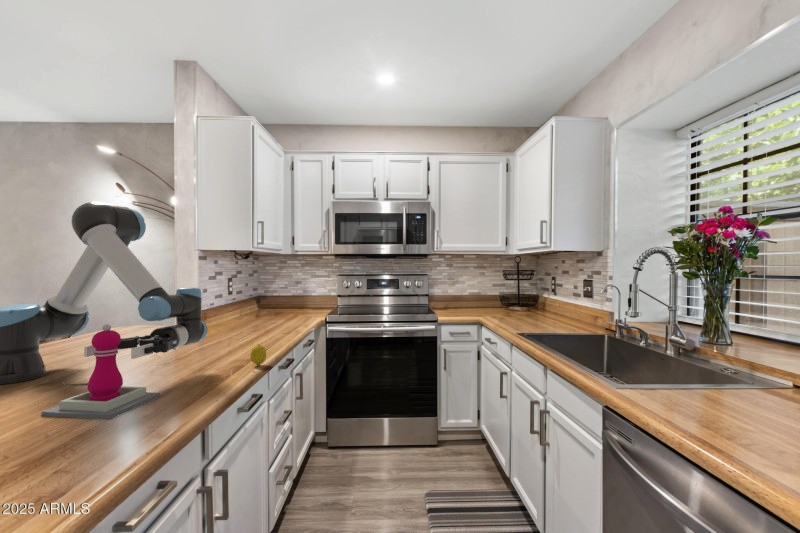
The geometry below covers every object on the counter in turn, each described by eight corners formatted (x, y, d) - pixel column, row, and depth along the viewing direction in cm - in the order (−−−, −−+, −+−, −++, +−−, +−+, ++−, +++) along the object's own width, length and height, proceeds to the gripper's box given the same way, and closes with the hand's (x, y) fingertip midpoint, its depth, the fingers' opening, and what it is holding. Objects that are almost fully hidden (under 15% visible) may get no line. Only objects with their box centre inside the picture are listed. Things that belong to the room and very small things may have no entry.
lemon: (262, 367, 134) (263, 345, 134) (247, 367, 134) (248, 345, 134) (268, 364, 139) (268, 342, 139) (254, 363, 139) (254, 342, 139)
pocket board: (41, 415, 89) (41, 403, 89) (101, 393, 104) (101, 383, 104) (109, 419, 87) (110, 406, 87) (160, 396, 103) (160, 385, 103)
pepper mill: (129, 397, 99) (131, 322, 99) (105, 407, 92) (107, 326, 92) (105, 396, 100) (106, 322, 100) (79, 405, 92) (80, 326, 93)
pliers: (89, 374, 123) (138, 378, 118) (89, 376, 123) (138, 380, 118) (56, 382, 113) (109, 387, 109) (56, 385, 113) (109, 390, 109)
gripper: (204, 351, 116) (152, 368, 95) (132, 348, 119) (66, 365, 98) (205, 327, 116) (152, 339, 95) (132, 325, 119) (66, 337, 98)
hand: (108, 352), depth 96 cm, fingers open, 13 cm apart
